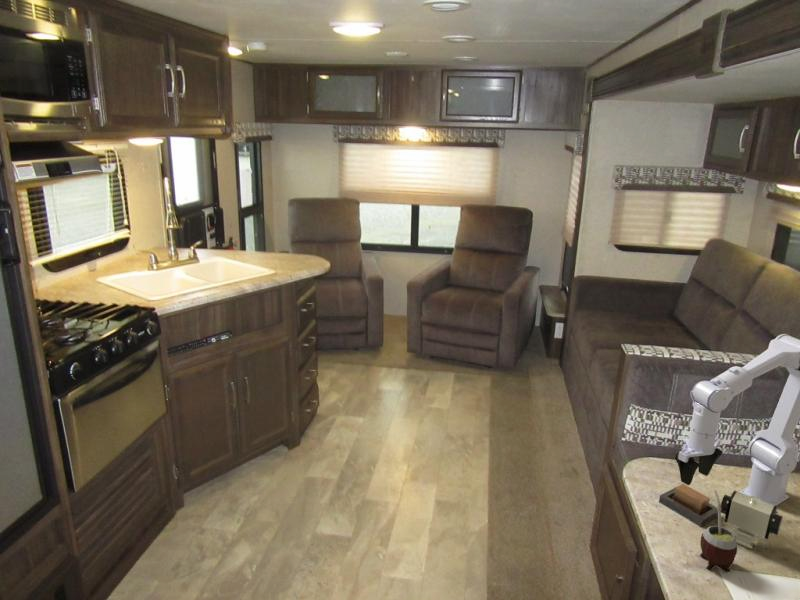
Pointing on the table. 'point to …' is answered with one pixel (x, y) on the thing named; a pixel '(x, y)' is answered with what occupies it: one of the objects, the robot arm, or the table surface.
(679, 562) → the table surface
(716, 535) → the mate gourd
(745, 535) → the pneumatic valve
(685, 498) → the brown rectangular block
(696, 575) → the table surface
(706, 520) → the duct collar
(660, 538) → the table surface
